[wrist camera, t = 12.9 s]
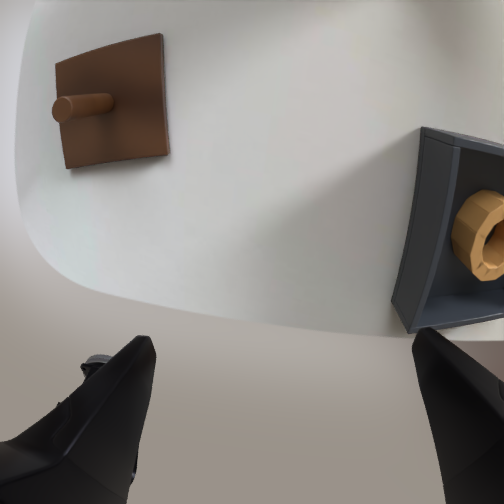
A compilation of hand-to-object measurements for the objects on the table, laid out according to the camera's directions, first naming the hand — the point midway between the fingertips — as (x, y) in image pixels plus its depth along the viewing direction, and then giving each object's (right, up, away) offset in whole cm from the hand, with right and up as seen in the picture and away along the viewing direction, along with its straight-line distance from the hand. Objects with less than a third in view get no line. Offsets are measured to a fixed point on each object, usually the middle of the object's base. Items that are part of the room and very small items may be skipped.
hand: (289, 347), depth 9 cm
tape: (+17, +5, +10) cm, 20 cm away
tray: (+17, +5, +10) cm, 21 cm away
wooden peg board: (-10, +13, +7) cm, 18 cm away
